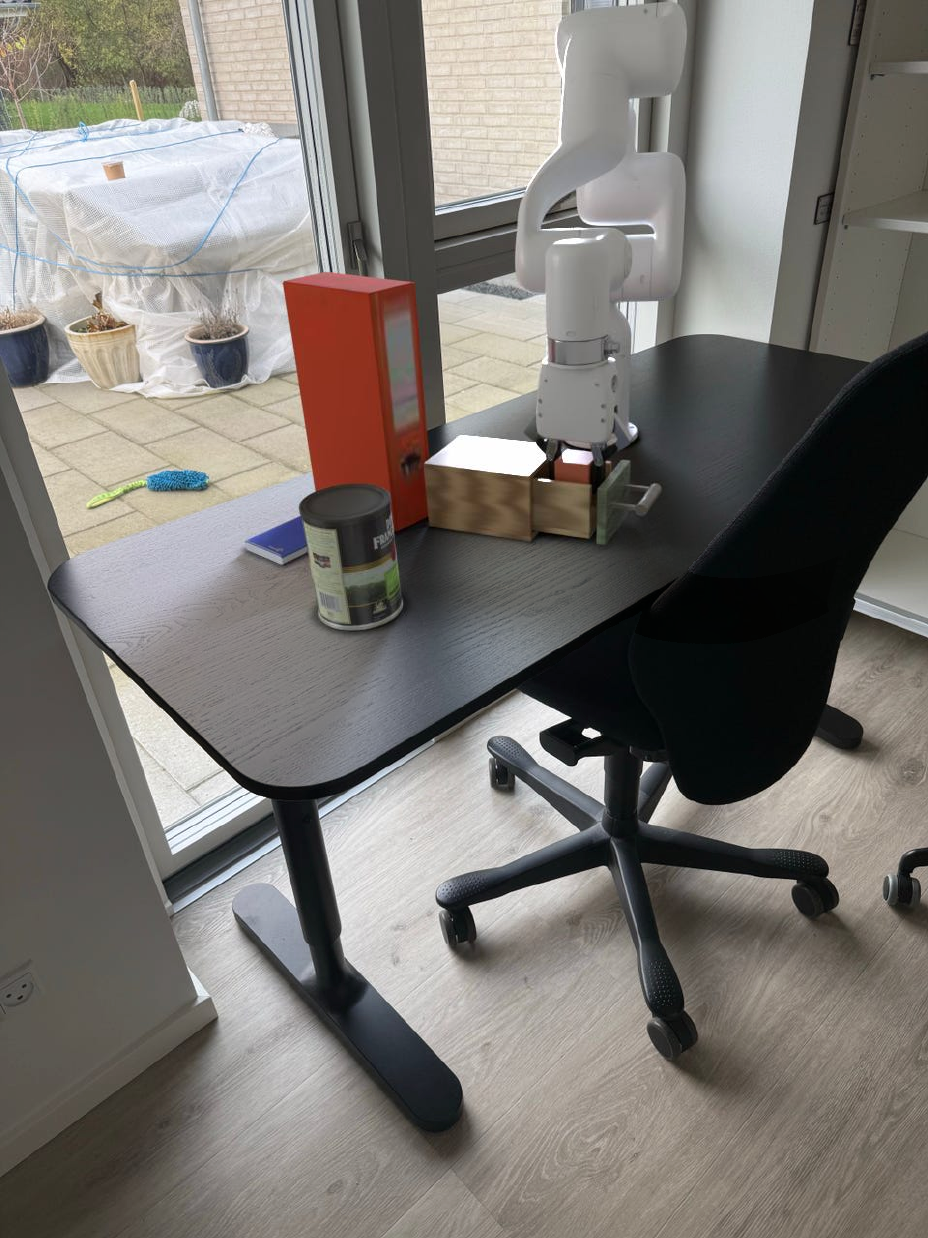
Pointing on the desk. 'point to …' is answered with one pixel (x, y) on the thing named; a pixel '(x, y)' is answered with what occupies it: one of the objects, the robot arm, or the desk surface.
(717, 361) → the desk surface
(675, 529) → the desk surface
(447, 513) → the cabinet
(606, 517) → the drawer
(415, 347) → the file binder
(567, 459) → the block
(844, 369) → the desk surface
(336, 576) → the coffee can
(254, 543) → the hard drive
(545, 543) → the desk surface
